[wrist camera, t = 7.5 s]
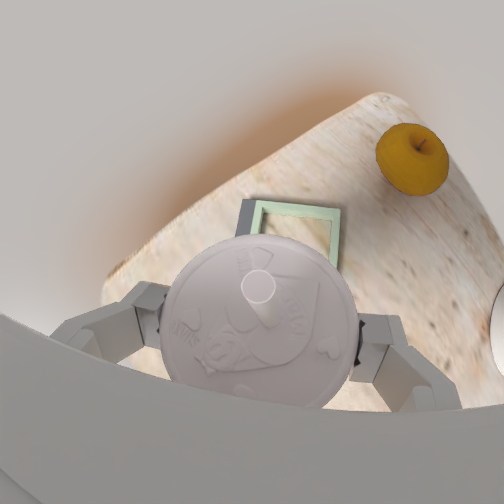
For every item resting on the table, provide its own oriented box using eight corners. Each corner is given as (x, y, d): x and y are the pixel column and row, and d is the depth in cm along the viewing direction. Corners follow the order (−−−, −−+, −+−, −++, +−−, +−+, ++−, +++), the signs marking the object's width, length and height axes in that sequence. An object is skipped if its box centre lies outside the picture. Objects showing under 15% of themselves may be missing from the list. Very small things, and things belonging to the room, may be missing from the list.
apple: (356, 186, 35) (371, 140, 27) (384, 143, 37) (400, 97, 28) (417, 225, 32) (448, 188, 24) (439, 177, 34) (465, 136, 26)
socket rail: (338, 215, 34) (340, 209, 33) (317, 399, 28) (318, 401, 26) (244, 205, 36) (242, 198, 34) (211, 382, 30) (207, 383, 28)
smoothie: (343, 352, 17) (480, 331, 4) (258, 413, 16) (189, 538, 3) (281, 273, 19) (269, 102, 6) (200, 331, 19) (37, 266, 5)
